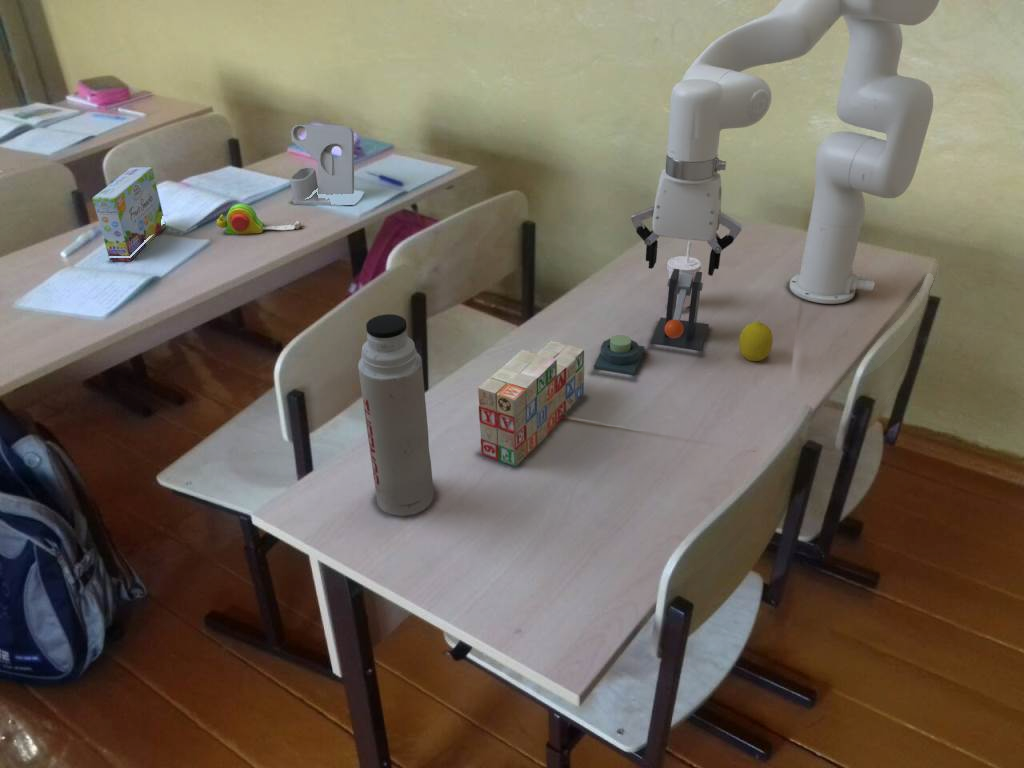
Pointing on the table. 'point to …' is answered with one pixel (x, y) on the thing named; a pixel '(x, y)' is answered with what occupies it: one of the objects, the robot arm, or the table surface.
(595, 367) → the dark piece
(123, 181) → the snack box
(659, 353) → the table surface
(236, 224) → the toy measuring tape
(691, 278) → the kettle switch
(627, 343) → the green round button
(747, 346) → the lemon
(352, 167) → the phone holder
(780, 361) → the table surface
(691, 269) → the smoothie
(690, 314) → the switch bracket
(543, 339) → the table surface
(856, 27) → the robot arm
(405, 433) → the thermos bottle
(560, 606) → the table surface
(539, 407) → the stack of blocks
